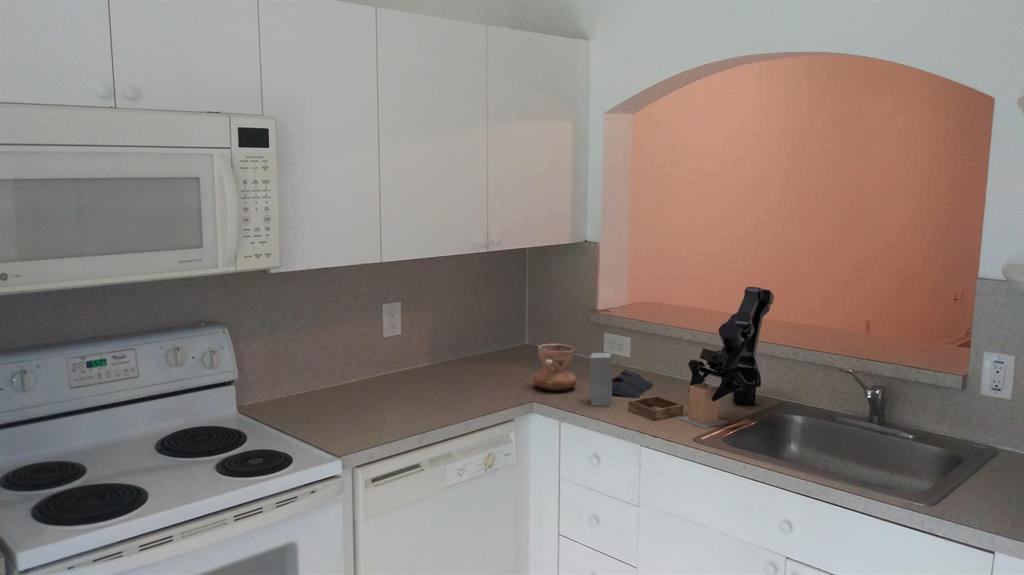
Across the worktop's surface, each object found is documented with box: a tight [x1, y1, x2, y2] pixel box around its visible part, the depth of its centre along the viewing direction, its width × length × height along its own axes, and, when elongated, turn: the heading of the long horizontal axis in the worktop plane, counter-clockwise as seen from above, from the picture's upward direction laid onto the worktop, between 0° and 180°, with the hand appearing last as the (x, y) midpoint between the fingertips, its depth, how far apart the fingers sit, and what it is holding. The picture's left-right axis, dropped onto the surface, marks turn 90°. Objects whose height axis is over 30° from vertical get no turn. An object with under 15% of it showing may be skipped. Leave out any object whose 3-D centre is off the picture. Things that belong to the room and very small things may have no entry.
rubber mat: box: [678, 415, 729, 429], centre depth 236 cm, size 10×10×1 cm
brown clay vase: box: [533, 343, 578, 392], centre depth 270 cm, size 18×14×14 cm
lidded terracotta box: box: [687, 382, 720, 424], centre depth 235 cm, size 6×6×10 cm
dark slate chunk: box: [612, 369, 654, 399], centre depth 270 cm, size 15×22×5 cm
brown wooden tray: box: [627, 395, 684, 422], centre depth 243 cm, size 12×12×4 cm
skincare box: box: [589, 352, 613, 407], centre depth 253 cm, size 8×7×16 cm
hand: (700, 396), depth 234 cm, fingers open, 9 cm apart
